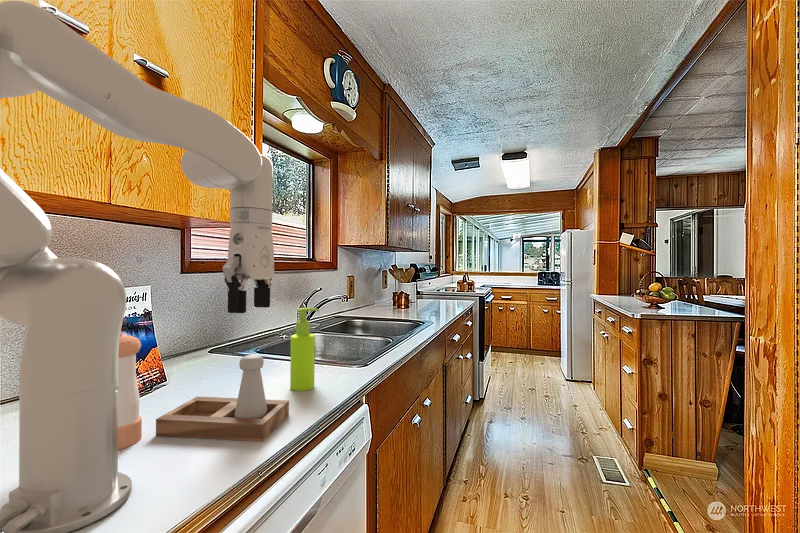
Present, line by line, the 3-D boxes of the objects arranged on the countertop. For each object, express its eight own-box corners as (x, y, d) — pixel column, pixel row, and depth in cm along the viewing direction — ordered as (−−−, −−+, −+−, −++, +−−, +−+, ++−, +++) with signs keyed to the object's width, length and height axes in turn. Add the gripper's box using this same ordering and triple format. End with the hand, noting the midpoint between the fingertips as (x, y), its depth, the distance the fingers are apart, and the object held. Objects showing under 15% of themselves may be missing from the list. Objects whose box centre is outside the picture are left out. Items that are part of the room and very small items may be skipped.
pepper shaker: (78, 448, 64) (78, 334, 64) (120, 430, 71) (121, 327, 71) (111, 454, 62) (112, 336, 62) (151, 435, 69) (152, 329, 69)
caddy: (262, 441, 67) (262, 424, 67) (155, 435, 69) (155, 419, 69) (288, 415, 79) (289, 400, 79) (197, 410, 81) (197, 396, 81)
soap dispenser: (320, 389, 96) (320, 308, 96) (291, 392, 94) (291, 309, 94) (316, 382, 102) (317, 306, 101) (289, 384, 99) (290, 307, 99)
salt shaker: (256, 431, 70) (256, 360, 70) (228, 429, 71) (228, 358, 71) (272, 419, 76) (273, 353, 76) (246, 416, 77) (246, 351, 77)
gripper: (247, 214, 65) (246, 316, 65) (288, 225, 82) (286, 305, 82) (205, 214, 65) (204, 315, 65) (254, 225, 83) (253, 305, 83)
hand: (250, 309), depth 74 cm, fingers open, 9 cm apart
